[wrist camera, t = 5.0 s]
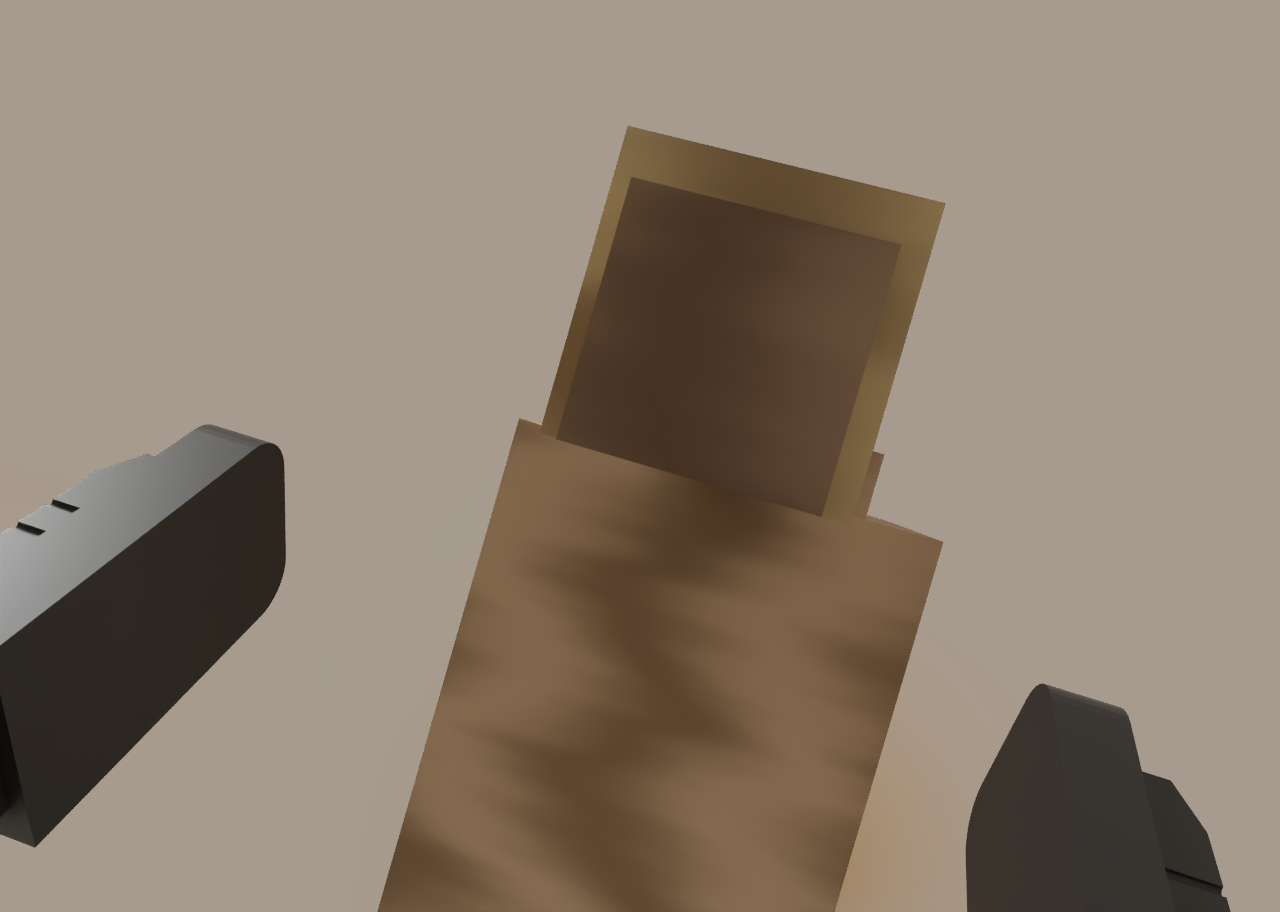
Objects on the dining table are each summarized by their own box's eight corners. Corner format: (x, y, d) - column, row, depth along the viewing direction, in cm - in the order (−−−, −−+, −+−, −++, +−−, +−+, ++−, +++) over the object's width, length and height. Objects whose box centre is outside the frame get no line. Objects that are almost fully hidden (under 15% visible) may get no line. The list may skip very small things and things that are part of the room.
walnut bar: (523, 429, 13) (617, 100, 13) (698, 464, 42) (726, 366, 42) (856, 527, 12) (958, 182, 12) (797, 493, 42) (826, 394, 42)
